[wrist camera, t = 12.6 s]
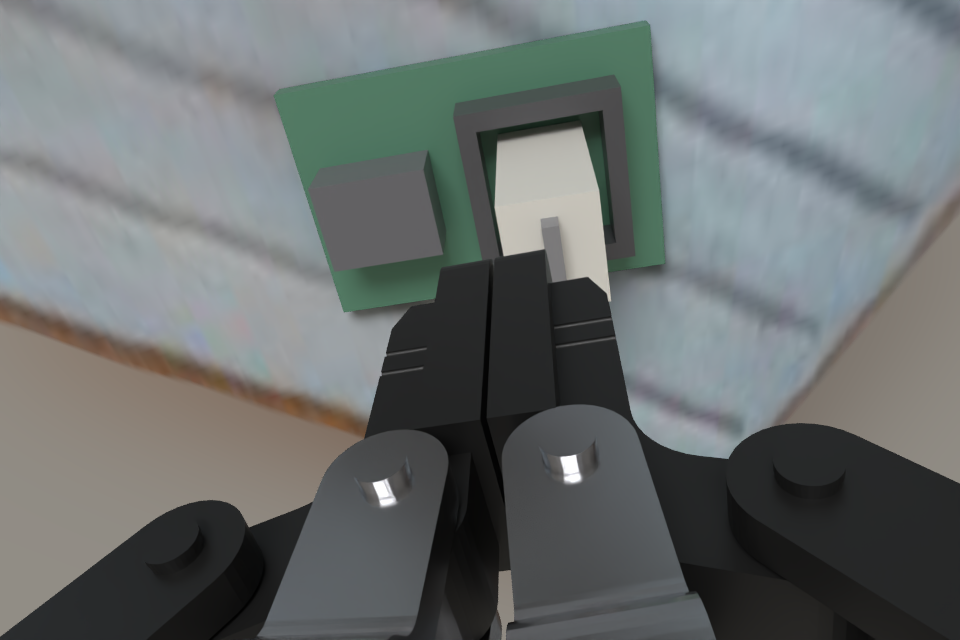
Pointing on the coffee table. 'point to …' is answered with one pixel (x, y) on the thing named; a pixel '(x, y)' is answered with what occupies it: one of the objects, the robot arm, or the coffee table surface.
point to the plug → (551, 201)
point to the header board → (469, 156)
